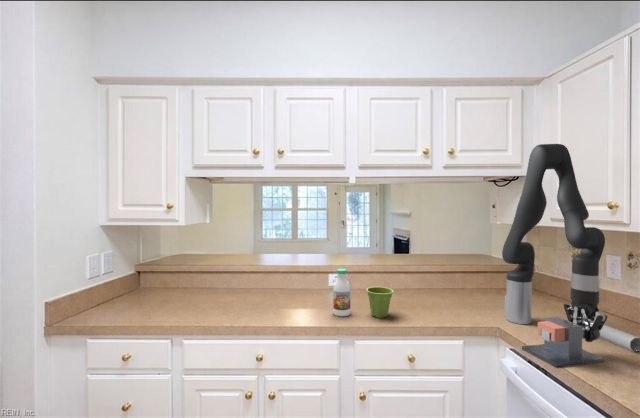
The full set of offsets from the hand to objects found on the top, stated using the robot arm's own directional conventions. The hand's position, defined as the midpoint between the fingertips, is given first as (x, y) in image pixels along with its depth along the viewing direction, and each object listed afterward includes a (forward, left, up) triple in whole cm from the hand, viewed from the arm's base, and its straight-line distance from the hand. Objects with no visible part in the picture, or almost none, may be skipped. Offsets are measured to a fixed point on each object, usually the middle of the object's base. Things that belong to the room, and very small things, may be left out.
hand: (583, 339), depth 113 cm
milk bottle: (-54, -68, -5) cm, 87 cm away
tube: (-10, +20, -5) cm, 23 cm away
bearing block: (0, -8, -5) cm, 10 cm away
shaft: (0, -6, 0) cm, 6 cm away
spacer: (0, -13, +4) cm, 13 cm away
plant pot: (-49, -52, -5) cm, 72 cm away
